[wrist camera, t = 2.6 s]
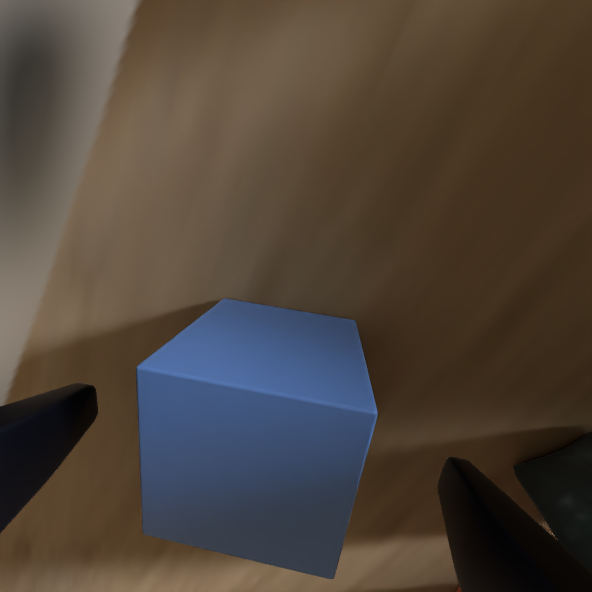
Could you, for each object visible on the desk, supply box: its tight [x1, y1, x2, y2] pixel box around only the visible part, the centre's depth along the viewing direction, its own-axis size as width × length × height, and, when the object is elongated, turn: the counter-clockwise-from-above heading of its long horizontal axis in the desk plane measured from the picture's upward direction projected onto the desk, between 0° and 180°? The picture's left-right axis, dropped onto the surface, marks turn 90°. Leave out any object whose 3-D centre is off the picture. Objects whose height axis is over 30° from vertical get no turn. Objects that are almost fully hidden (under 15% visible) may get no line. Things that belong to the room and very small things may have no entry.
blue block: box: [136, 298, 378, 579], centre depth 8 cm, size 4×4×4 cm
